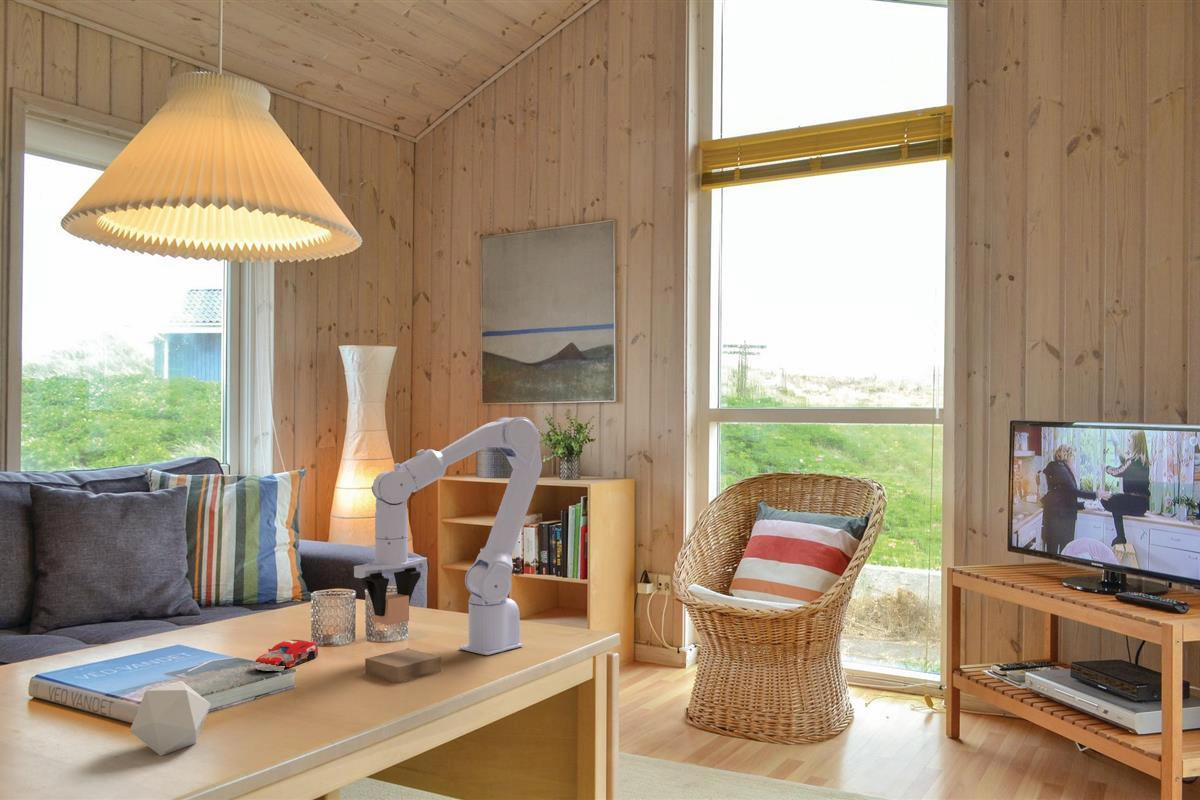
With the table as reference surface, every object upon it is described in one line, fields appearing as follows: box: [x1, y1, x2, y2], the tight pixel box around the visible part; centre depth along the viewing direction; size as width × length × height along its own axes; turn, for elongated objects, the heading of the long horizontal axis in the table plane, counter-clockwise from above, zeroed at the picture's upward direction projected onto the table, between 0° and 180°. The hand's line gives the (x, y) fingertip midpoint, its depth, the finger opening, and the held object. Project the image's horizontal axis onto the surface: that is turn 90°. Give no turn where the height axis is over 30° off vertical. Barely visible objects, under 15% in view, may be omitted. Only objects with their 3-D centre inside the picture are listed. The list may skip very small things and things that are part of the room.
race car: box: [254, 639, 319, 668], centre depth 166 cm, size 13×5×4 cm, turn 157°
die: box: [129, 680, 212, 756], centre depth 124 cm, size 8×9×10 cm
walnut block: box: [364, 648, 442, 684], centre depth 160 cm, size 9×9×3 cm
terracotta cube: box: [372, 592, 410, 626], centre depth 169 cm, size 4×4×4 cm
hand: (391, 613), depth 168 cm, fingers closed on terracotta cube, 4 cm apart
